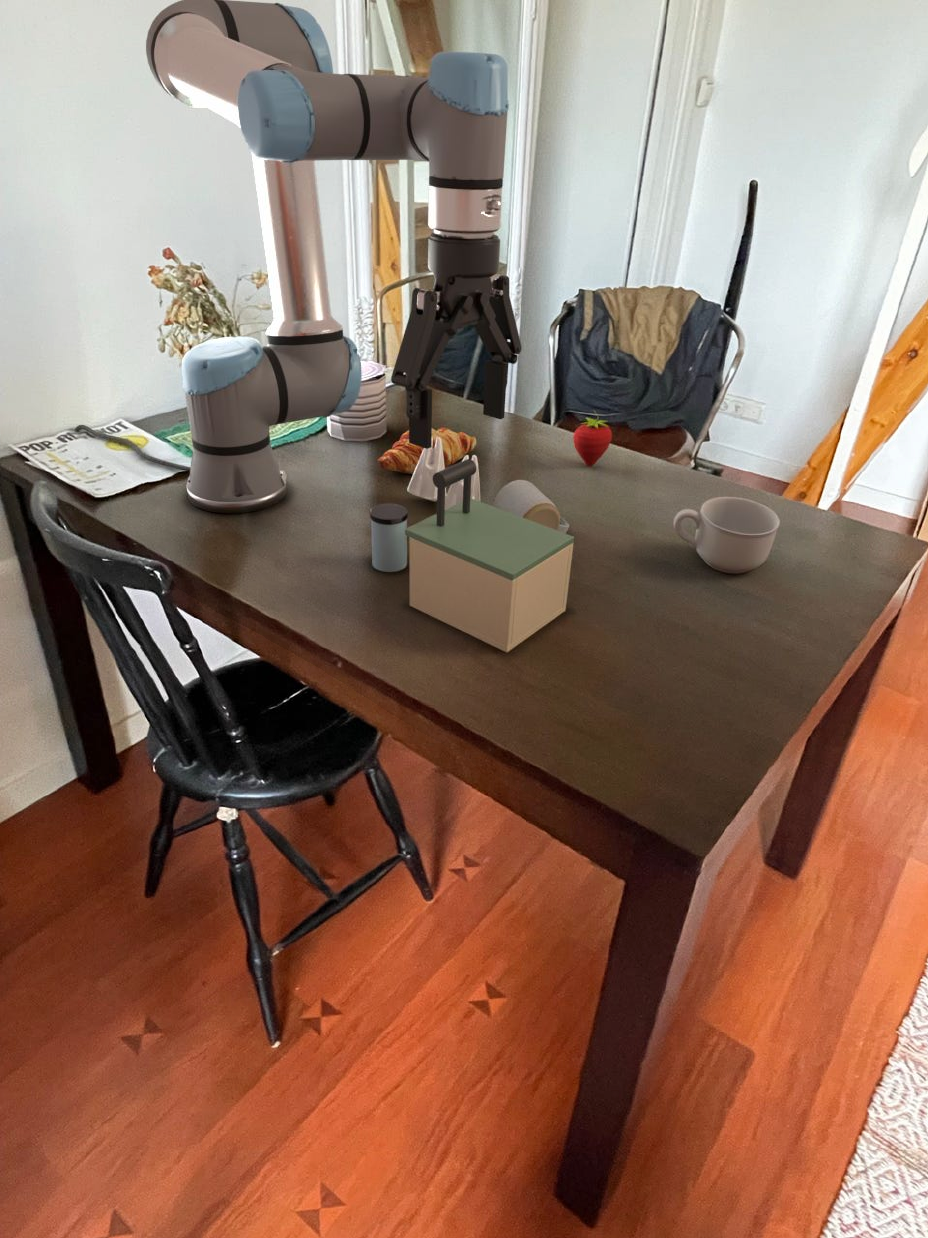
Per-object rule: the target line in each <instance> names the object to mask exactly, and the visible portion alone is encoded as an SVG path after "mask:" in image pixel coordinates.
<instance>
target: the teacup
mask: <svg viewBox="0 0 928 1238" xmlns="http://www.w3.org/2000/svg"><path fill="white" fill-rule="evenodd" d="M699 511H700V512H697V511H696V510H694V509H691V508H685V509H682V510H680V511H679V512H677V513H676V514H675V516H674V519H673V522H672V523H673V529H674V531H675V533H676V534H677V535H678V537H679V538H681V539H682V540H683V541H685V542H686V543H688V544H689V547H690V548H691V549H693V550H696V553H697V554H698V555H699V557H700V558H701V559H702V560H703V562H705V564H706V565H708V566H709V567H710V568H712V569H714V570H715V571H716V570H717V571H719V572H722V573H726V574H742V573H747V572H749V571H752V570H754V569H757V568H758V567H760V566H761V565H763V564H764V563H765V562H766V560H767V559H768V557H769V555H770V552H771V550H772V547H773V544H774V542H775V538H776V535H777V532H778V531H777V530H778V529H779V527H780V525H781V524H780V523H781V520H780V518H779V516H778V514H777V513H776V512H775V511H774V510H772V508H770V507H768V506H766V505H764V504H762V503H759V502H757V501H756V500H755V501H754V500H751V499H747V498H744V497H737V496H718V497H713V498H710V499H708V500H706V501H704V502H703V503H702V504H701V506H700V510H699ZM687 518H690V519H692V520H693V521H694V526H695V528H696V530H695V536H693V535H691V534H689V533H688V532H687V531H685V530H684V529H683V528H682V526H681V524H682V521H683V520H684V519H687Z"/></svg>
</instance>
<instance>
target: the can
mask: <svg viewBox="0 0 928 1238" xmlns="http://www.w3.org/2000/svg"><path fill="white" fill-rule="evenodd" d="M361 368H362V379H361V387H360V392H359V395H358V398H357V400H356V401H355V403H354V405H353V406H352V407H351V408H350V409H349V410H347V411H345V412H343V413H338V414H334V415H331V416H329V417H326V429H327V432H328V433H329V436H330V438H331V437H332V438H334V439H338V440H340V441H344V442H367V441H371V440H377V439H380V438H382V437H383V435H385V434H386V433H387V390H386V389H387V383H386V382H387V379H386V377H387V376H386V373H385V370H386V368H387V365H385V364H382V363H379V362H376V361H373V360H366V361H365V360H364V361H361Z"/></svg>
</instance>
